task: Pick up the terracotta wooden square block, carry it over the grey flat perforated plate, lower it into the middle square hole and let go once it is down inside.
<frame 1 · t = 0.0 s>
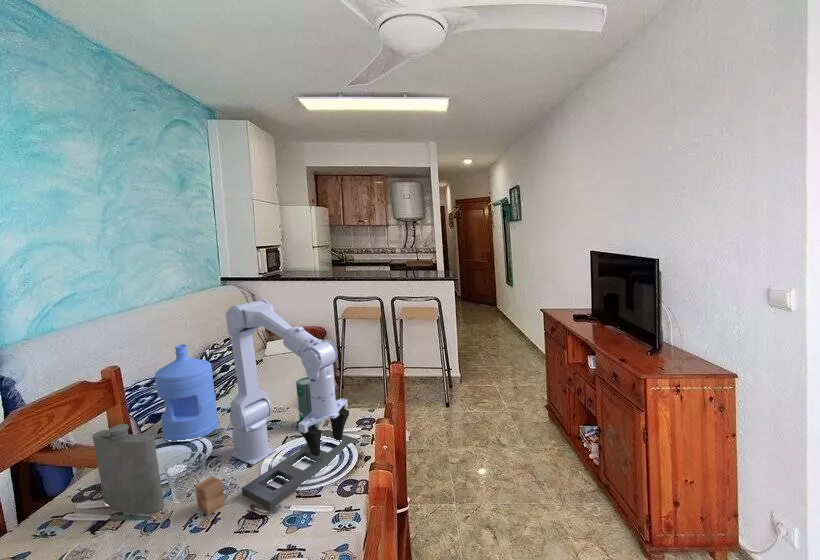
hand: (327, 446, 98), 10 cm above the table, tool pointing down, fingers open, 7 cm apart
grey flat perforated plate: (304, 467, 107), on the table
can: (310, 426, 129), on the table
hip flask: (132, 507, 95), on the table
square block: (211, 507, 94), on the table
water jug: (192, 431, 129), on the table
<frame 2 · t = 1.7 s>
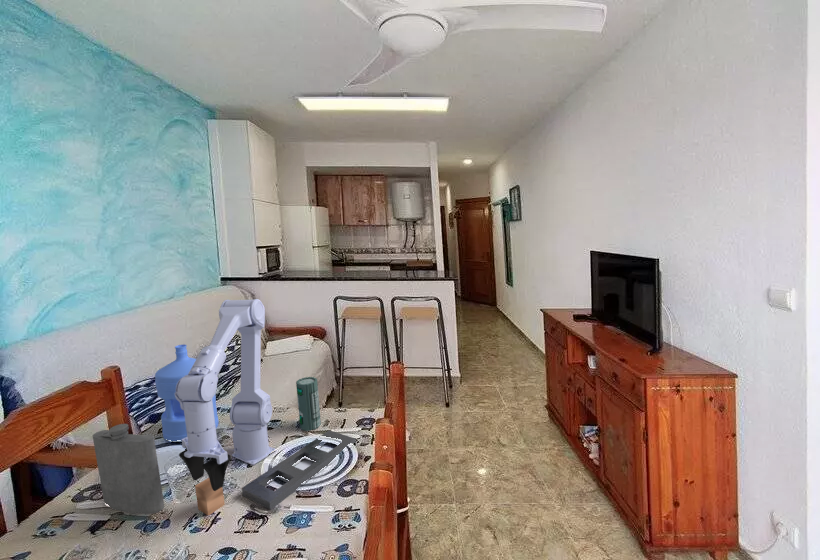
hand: (208, 483, 93), 6 cm above the table, tool pointing down, fingers open, 7 cm apart
nothing on the table moved.
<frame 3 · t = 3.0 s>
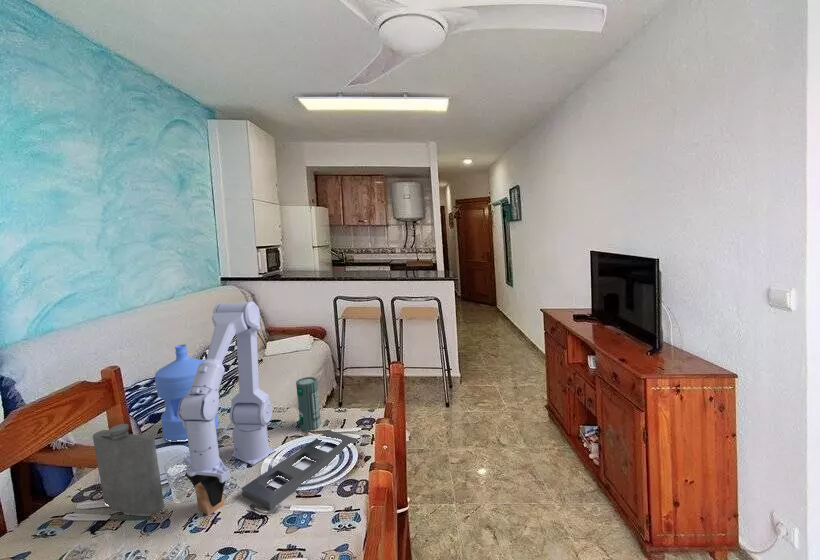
hand: (210, 500, 93), 2 cm above the table, tool pointing down, fingers closed on square block, 4 cm apart
square block: (211, 507, 94), on the table, touching gripper
everything else where it was.
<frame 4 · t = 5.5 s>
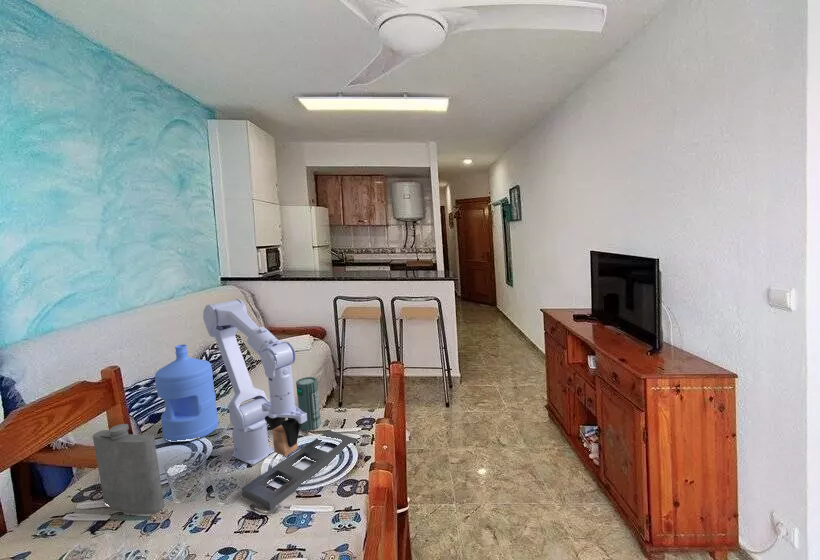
hand: (286, 442, 103), 9 cm above the table, tool pointing down, fingers closed on square block, 4 cm apart
square block: (286, 450, 103), point 7 cm above the table, touching gripper
everything else where it was.
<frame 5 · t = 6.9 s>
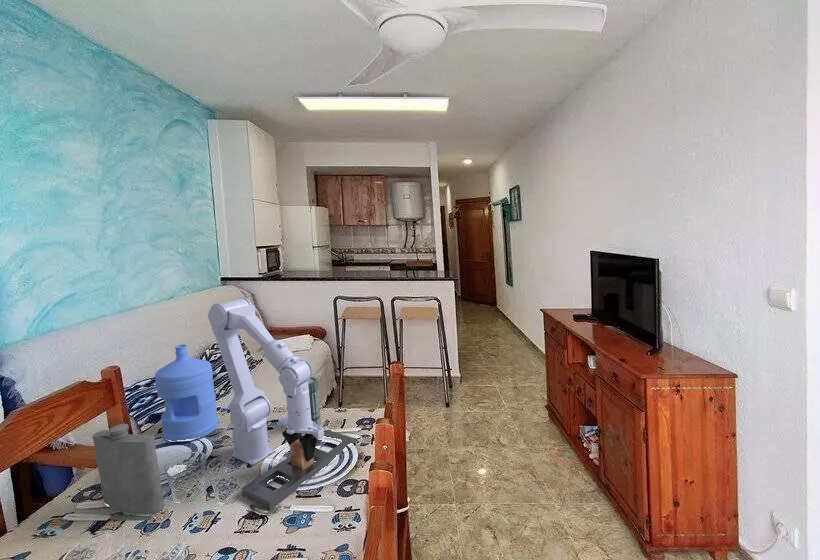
hand: (303, 456, 106), 3 cm above the table, tool pointing down, fingers closed on square block, 4 cm apart
square block: (302, 464, 106), point 1 cm above the table, touching gripper
everything else where it was.
when the fingers open (3 cm above the table, at t = 7.8 s): square block stays where it is, resting in grey flat perforated plate.
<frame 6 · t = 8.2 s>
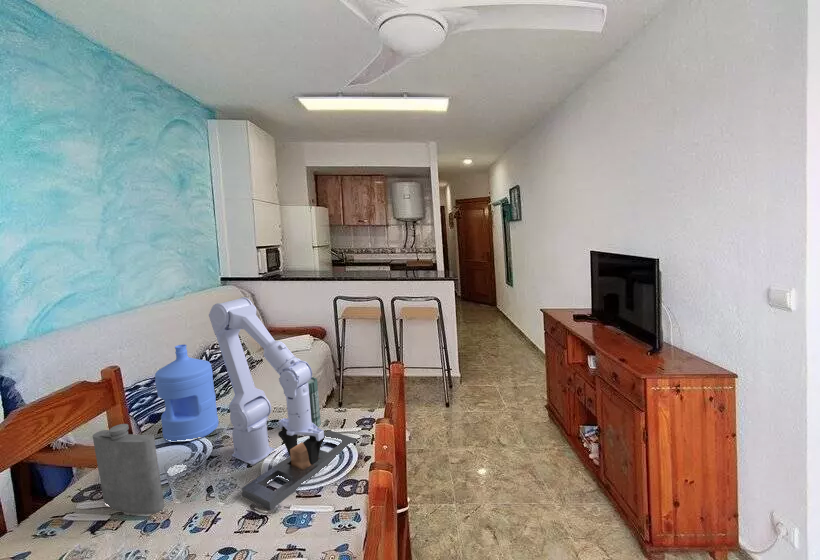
hand: (303, 458, 107), 3 cm above the table, tool pointing down, fingers open, 7 cm apart
square block: (303, 468, 107), resting in grey flat perforated plate
everything else where it was.
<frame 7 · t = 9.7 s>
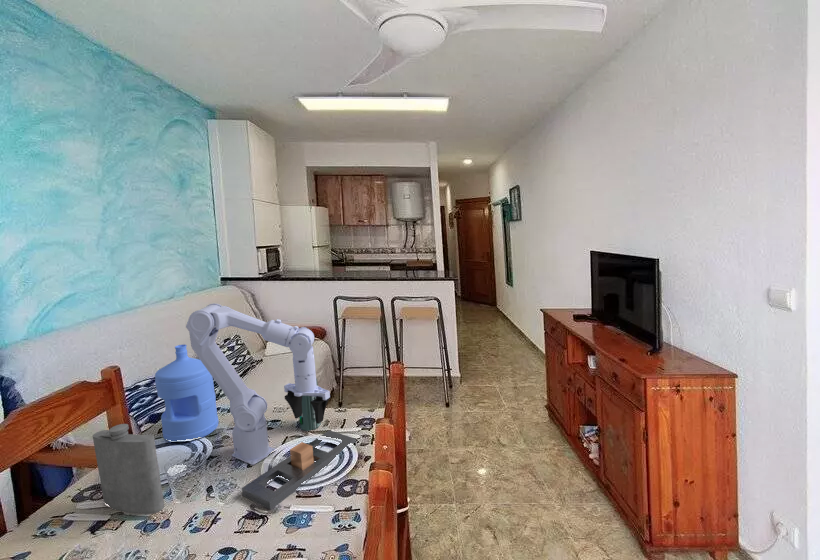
hand: (309, 419, 114), 9 cm above the table, tool pointing down, fingers open, 7 cm apart
nothing on the table moved.
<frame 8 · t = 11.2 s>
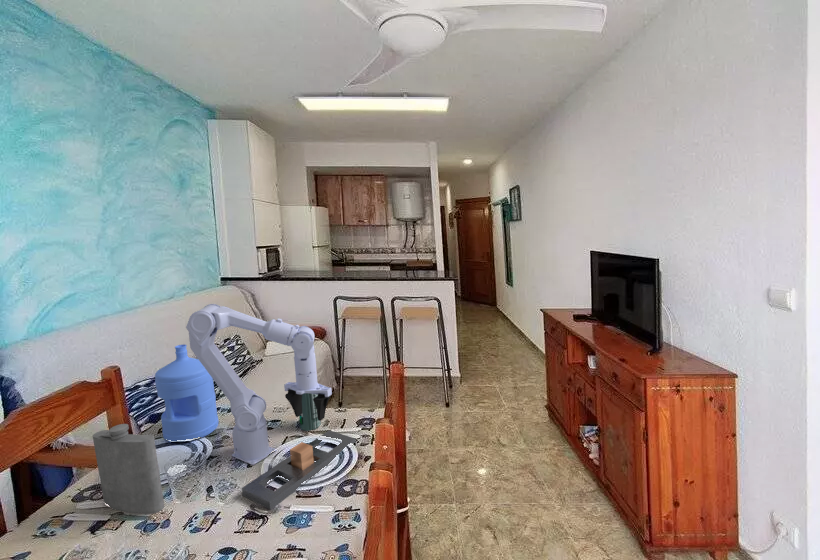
hand: (310, 417, 115), 9 cm above the table, tool pointing down, fingers open, 7 cm apart
nothing on the table moved.
at the end: square block 0.4 cm off-centre on the grey flat perforated plate, point 0.0 cm above the grey flat perforated plate's base; square block tilted 0°; the gripper is holding nothing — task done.
